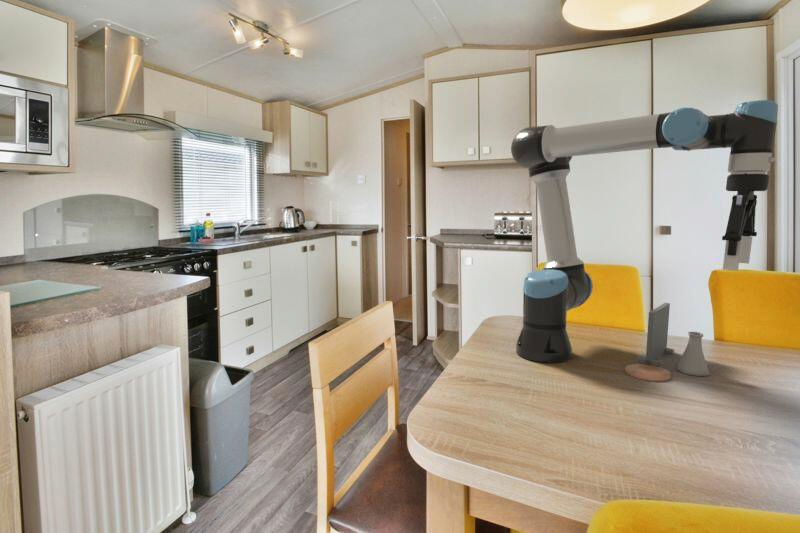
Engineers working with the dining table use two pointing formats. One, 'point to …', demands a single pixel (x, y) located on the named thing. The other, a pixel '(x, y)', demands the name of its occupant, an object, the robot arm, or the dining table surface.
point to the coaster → (648, 372)
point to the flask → (693, 357)
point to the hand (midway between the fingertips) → (736, 266)
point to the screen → (657, 335)
